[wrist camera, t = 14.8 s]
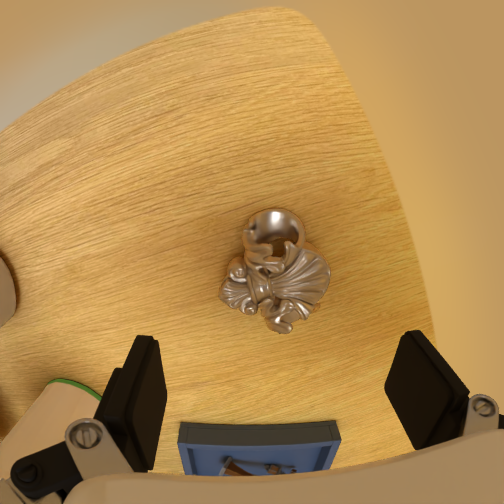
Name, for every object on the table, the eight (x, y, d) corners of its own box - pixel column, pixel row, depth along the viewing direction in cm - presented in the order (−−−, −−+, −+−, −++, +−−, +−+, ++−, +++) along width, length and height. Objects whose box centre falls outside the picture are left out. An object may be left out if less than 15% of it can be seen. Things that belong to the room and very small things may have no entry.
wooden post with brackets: (299, 477, 27) (288, 507, 23) (235, 449, 29) (217, 476, 25) (306, 470, 27) (295, 500, 23) (239, 441, 29) (221, 468, 25)
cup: (46, 426, 27) (2, 521, 12) (17, 347, 23) (-64, 456, 8) (142, 455, 28) (117, 570, 13) (131, 380, 24) (78, 537, 9)
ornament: (201, 224, 19) (193, 242, 16) (309, 196, 19) (324, 208, 16) (236, 330, 22) (236, 362, 19) (330, 306, 22) (344, 334, 18)
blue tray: (335, 420, 26) (341, 440, 24) (313, 479, 30) (316, 496, 28) (180, 421, 25) (176, 442, 23) (193, 481, 30) (191, 498, 27)
